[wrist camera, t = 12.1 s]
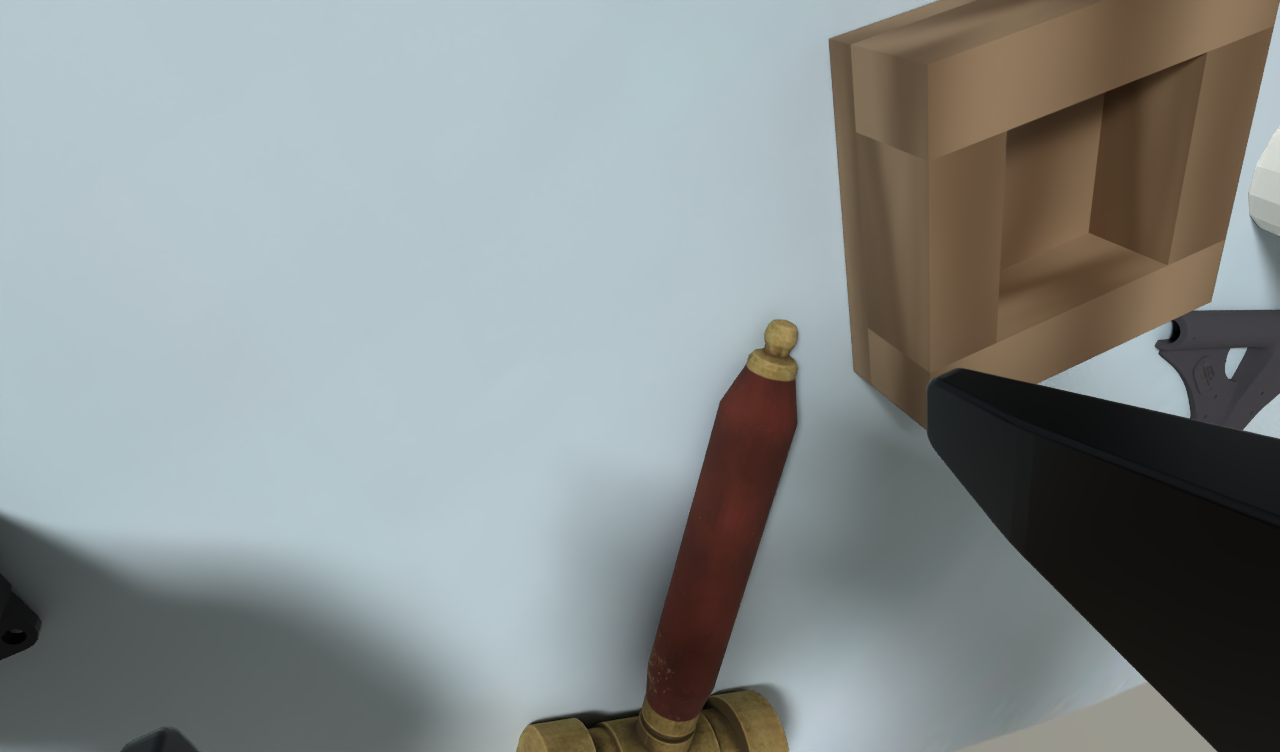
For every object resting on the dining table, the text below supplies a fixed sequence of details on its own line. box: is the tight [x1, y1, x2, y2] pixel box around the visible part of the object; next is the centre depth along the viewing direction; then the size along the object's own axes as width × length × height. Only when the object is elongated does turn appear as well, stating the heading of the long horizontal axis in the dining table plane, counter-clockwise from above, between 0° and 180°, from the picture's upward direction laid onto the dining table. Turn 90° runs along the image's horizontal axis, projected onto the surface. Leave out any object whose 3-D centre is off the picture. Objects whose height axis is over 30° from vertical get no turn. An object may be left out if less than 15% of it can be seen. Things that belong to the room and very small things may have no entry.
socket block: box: [829, 0, 1280, 430], centre depth 24 cm, size 11×11×4 cm
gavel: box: [516, 320, 798, 752], centre depth 28 cm, size 21×5×10 cm
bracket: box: [1155, 310, 1280, 430], centre depth 38 cm, size 14×15×3 cm
